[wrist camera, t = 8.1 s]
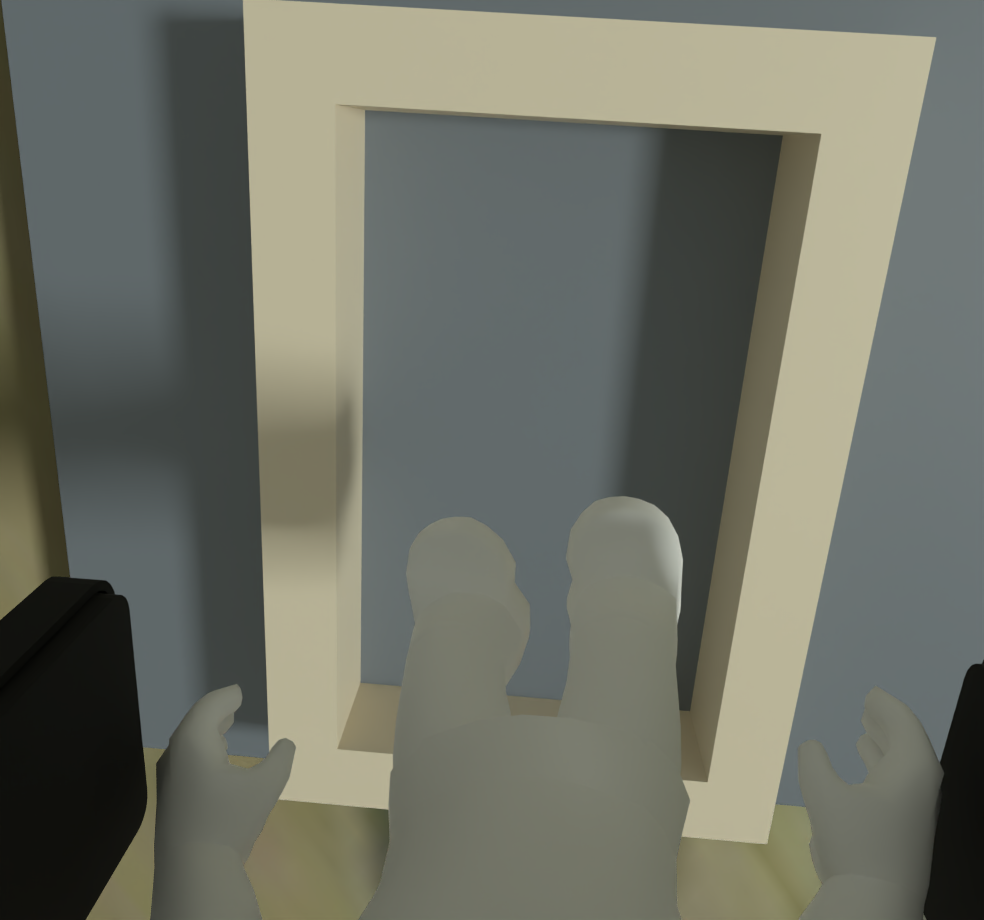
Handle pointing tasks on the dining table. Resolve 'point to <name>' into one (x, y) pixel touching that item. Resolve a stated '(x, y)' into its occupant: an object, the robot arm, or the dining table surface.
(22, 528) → the dining table surface
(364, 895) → the dining table surface
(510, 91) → the cradle jig
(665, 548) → the white toy figurine
